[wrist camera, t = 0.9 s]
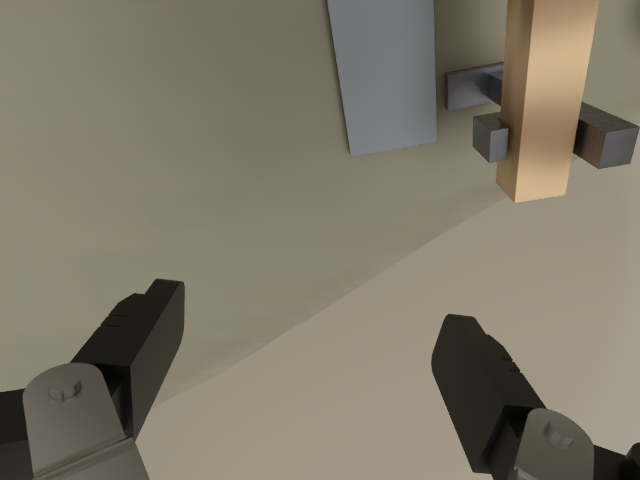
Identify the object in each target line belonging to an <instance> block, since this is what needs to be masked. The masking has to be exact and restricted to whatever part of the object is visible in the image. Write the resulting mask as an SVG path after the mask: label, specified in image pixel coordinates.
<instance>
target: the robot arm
mask: <svg viewBox="0 0 640 480" xmlns="http://www.w3.org/2000/svg"><path fill="white" fill-rule="evenodd" d="M184 300H185V286H184V282H182V281H174V280H166V279H156V280H155V281H154V282H153V283H152V285H151V286H150V287H149V289H148V290H147V292H146V293H145V294H137V293H134V294H132V295H130V296H129V297H127V298H125V299H124V300H122V301H120V302H119V303H118V304H117V305H116V306H115V308H114V309H113V310H112V311H111V312H110V314H109V317H106V319H105V320H104V321H103V322H102V324H101V326H100V327H98V328H97V330H96V331H95V332H94V333H93V335H92V336H91V337H90V338H89V340H88V341H87V342H86V343H85V344H84V346H83V347H82V348H81V349H80V351H79V352H78V353H77V354H76V356H75V357H74V358H73V359H72V360H71V362H70V363H68V364H63V365H59V366H56V367H53V368H51V369H49V370H46V371H45V372H43V373H41V374H39V375H38V376H37V377H35V378H34V379H33V380H32V381H31V382H30V383H29V384H28V385H27V387H26V388H25V389H19V390H13V391H6V392H0V480H150V479H149V477H148V474H147V472H146V469H145V466H144V464H143V461H142V459H141V456H140V454H139V451H138V448H137V446H136V444H135V441H136V439H137V436H138V434H139V432H140V430H141V428H142V426H143V424H144V421H145V419H146V417H147V415H148V413H149V411H150V409H151V406H152V404H153V402H154V400H155V398H156V396H157V394H158V391H159V389H160V387H161V385H162V383H163V381H164V378H165V376H166V374H167V372H168V370H169V368H170V366H171V363H172V361H173V359H174V357H175V355H176V353H177V351H178V348H179V346H180V343H181V340H182V336H183V331H184ZM431 365H432V372H433V375H434V378H435V380H436V382H437V385H438V387H439V390H440V392H441V395H442V397H443V400H444V402H445V405H446V407H447V410H448V412H449V415H450V417H451V419H452V422H453V424H454V427H455V429H456V432H457V434H458V437H459V439H460V442H461V444H462V447H463V449H464V451H465V454H466V457H467V459H468V461H469V464H470V466H471V469H472V471H473V472H475V473H486V474H491V475H492V477H493V479H494V480H640V443H636V444H634V445H633V446H632V448H631V449H630V450H629V452H628V453H627V455H626V456H625V455H622V454H619V453H616V452H613V451H610V450H608V449H605V448H602V447H599V446H596V445H593V443H592V442H591V440H590V438H589V436H588V435H587V434H586V433H585V431H584V430H583V429H582V428H580V426H578V425H577V424H576V423H575V422H573V421H572V420H570V419H569V418H567V417H566V416H564V415H562V414H560V413H557V412H555V411H553V410H549V409H547V408H546V407H545V405H544V404H543V402H542V401H541V400H540V398H539V397H538V395H537V394H536V393H535V391H534V390H533V388H532V387H531V385H530V384H529V382H528V381H527V380H526V378H525V377H524V375H523V374H522V373H520V370H519V368H518V367H517V365H516V364H515V363H514V362H512V358H511V357H510V355H509V354H508V352H507V351H506V350H505V348H504V347H503V346H502V345H501V344H500V343H499V342H497V341H496V340H495V339H494V338H493V337H491V336H490V335H487V334H485V332H484V331H483V329H482V328H481V326H480V325H479V323H478V322H477V320H476V319H475V318H474V317H471V316H463V315H455V314H448V315H447V316H446V317H445V319H444V321H443V324H442V327H441V330H440V333H439V336H438V339H437V342H436V345H435V347H434V350H433V354H432V361H431Z"/></svg>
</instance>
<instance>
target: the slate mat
mask: <svg viewBox="0 0 640 480" xmlns="http://www.w3.org/2000/svg"><path fill="white" fill-rule="evenodd" d="M327 4H328V10H329V17H330V23H331V30H332V37H333V43H334V50H335V56H336V63H337V69H338V76H339V82H340V89H341V96H342V102H343V109H344V115H345V122H346V128H347V135H348V142H349V148H350V154H351V157H356V156H361V155H367V154H372V153H378V152H383V151H389V150H394V149H400V148H405V147H411V146H416V145H422V144H427V143H433V142H437V123H436V80H435V38H434V0H327Z"/></svg>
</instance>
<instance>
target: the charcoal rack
mask: <svg viewBox="0 0 640 480" xmlns="http://www.w3.org/2000/svg"><path fill="white" fill-rule="evenodd" d="M503 67H504V62H500V63H495V64H490V65H485V66H480V67H475V68H470V69H465V70H459V71H454V72H449V73H445V108H446V109H447V110H448V111H450V110H455V109H460V108H465V107H471V106H476V105H481V104H487V103H492V102H495V103H497V104H498V105H500V106H501V98H502V83H503ZM500 113H501V112H496V113H491V114H486V115H480V116H475V117H473V147H474V148H475V149H476V150H477V151H478V152H479V153H480V154H481V155H482V156H483V157H484V158H485V159H486V160H487V161H488V162H489V163H492V162H498V161H504V160H506V155H507V142H508V129H509V128H508V127H507V126H505V125H504V124H502V123H501V122H500ZM639 128H640V127H639V126H637V125H635V124H632V123H630V122H628V121H625V120H623V119H621V118H619V117H616V116H614V115H612V114H609V113H607V112H605V111H602V110H600V109H598V108H595V107H593V106H591V105H588V104H586V103H584V102H581V107H580V113H579V119H578V124H577V130H576V136H575V141H574V147H573V153H574V154H576V155H577V156H579V157H580V158H582V159H584V160H585V161H587V162H588V163H590V164H591V165H593V166H594V167H596V168H598V169H601V168H608V167H613V166H619V165H625V164H630V162H631V158H632V155H633V151H634V147H635V144H636V140H637V136H638V132H639Z"/></svg>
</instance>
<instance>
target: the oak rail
mask: <svg viewBox="0 0 640 480" xmlns="http://www.w3.org/2000/svg"><path fill="white" fill-rule="evenodd" d="M598 6H599V0H508V7H507V22H506V37H505V52H504V67H503V83H502V98H501V113H500V122H501V123H502V124H504V125H505V126H507V127H508V128H509V129H508V142H507V155H506V160H504V161H498V162H497V173H496V183H497V184H498V185H499V186H500V187H501V189H502V190H503V191H504V192H505V193H506V194H507V195H508V196H509V197H510V198H511V199H512V200H513V202H515V203H516V202H523V201H529V200H535V199H541V198H548V197H554V196H560V195H565V192H566V186H567V181H568V175H569V170H570V164H571V158H572V153H573V147H574V141H575V136H576V130H577V124H578V119H579V113H580V107H581V102H582V96H583V90H584V85H585V79H586V73H587V68H588V62H589V56H590V51H591V45H592V40H593V34H594V28H595V23H596V17H597V11H598Z"/></svg>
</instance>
